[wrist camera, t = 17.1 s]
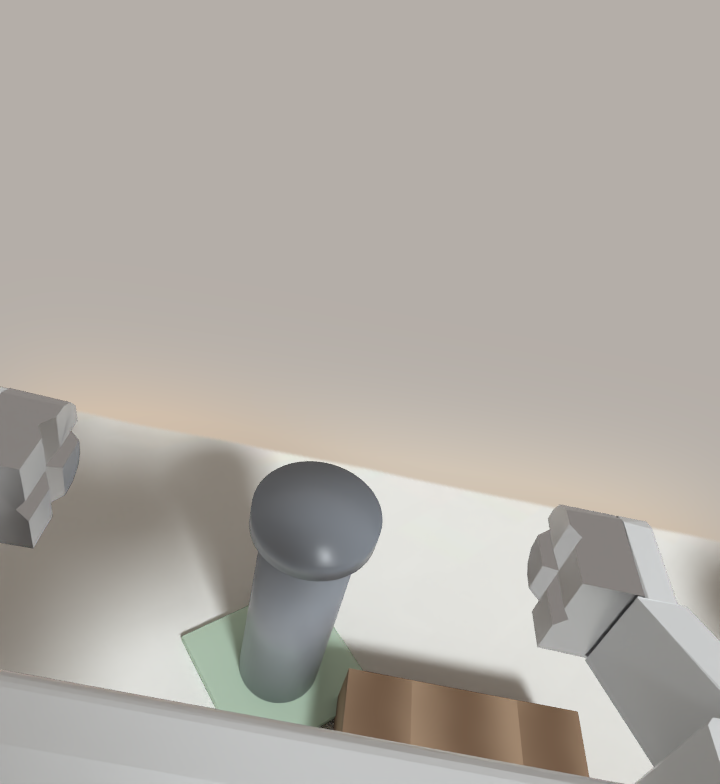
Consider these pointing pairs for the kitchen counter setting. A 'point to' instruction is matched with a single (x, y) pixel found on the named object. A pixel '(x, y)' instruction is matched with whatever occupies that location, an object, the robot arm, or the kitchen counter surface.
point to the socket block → (460, 722)
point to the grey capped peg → (302, 571)
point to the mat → (228, 692)
